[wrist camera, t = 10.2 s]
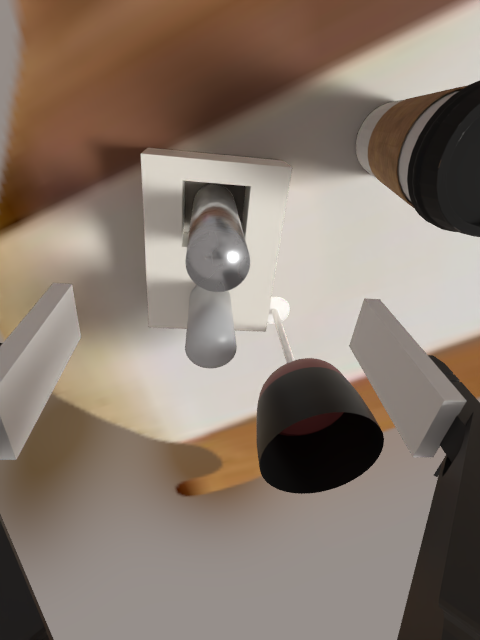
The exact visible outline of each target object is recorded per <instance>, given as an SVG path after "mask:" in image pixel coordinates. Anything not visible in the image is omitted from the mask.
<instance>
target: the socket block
mask: <svg viewBox="0 0 480 640" xmlns="http://www.w3.org/2000/svg"><path fill="white" fill-rule="evenodd" d="M141 171H142V193H143V215H144V237H145V259H146V281H147V303H148V324H149V327H153V328H181V329H187V333H186V344H185V351H186V354H187V356H188V358H189V359H190V360H191V361H192V362H193V363H194V364H196V365H198V366H200V367H204V368H217V367H221V366H223V365H225V364H227V363H228V362H229V361H231V360H232V358H233V357H234V355H235V353H236V339H235V331H263V332H266V327H267V321H268V315H269V309H270V303H271V296H272V290H273V284H274V278H275V272H276V265H277V259H278V253H279V247H280V241H281V235H282V228H283V222H284V216H285V210H286V204H287V197H288V191H289V185H290V179H291V173H292V167H291V166H289V165H288V164H287V163H286V162H284V161H283V160H272V159H262V158H251V157H241V156H230V155H220V154H209V153H199V152H189V151H178V150H168V149H157V148H147V149H146V150H144V151H143V152H142V153H141ZM185 181H195V182H207V183H219V184H230V185H242V186H245V196H244V206H243V216H242V230H243V233H244V237H245V241H246V244H247V248H248V251H249V255H250V268H249V272H248V274H247V276H246V278H245V279H244V280H243V281H242V283H240V284H239V285H238V286H237V287H235V288H233V289H231V290H228V291H224V292H212V291H208V290H205V289H203V288H201V287H199V286H198V285H196V284H195V283H194V282H193V281H192V279H191V278H190V276H189V274H188V272H187V269H186V262H185V261H186V252H187V245H188V237H189V233H185V232H184V205H185ZM234 330H235V331H234Z"/></svg>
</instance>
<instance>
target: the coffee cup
mask: <svg viewBox="0 0 480 640" xmlns="http://www.w3.org/2000/svg"><path fill="white" fill-rule="evenodd" d="M356 154H357V158H358V161H359V163H360V164H361V166H362V167H363V168H364V169H365V170H366V171H367V172H369V173H370V174H371V175H373V176H374V177H376V178H377V179H378V180H379V181H380V182H382V183H383V184H384V185H385V186H387V187H388V188H389V189H390V190H392V191H393V192H394V193H396V194H397V195H398V196H399V197H401V198H402V199H403V200H404V201H406V202H407V203H408V204H409V205H411V206H412V207H413V208H415V210H416V211H417V213H418V214H419V215H420V216H421V217H422V218H424V219H425V220H426V221H427V222H429V223H431V224H433V225H435V226H437V227H439V228H441V229H444V230H448V231H452V232H460V233H463V234H467V235H471V236H477V237H480V81H478V82H475V83H473V84H471V85H468V86H464V87H459V88H454V89H450V90H445V91H441V92H436V93H432V94H428V95H423V96H419V97H414V98H410V99H406V100H401V101H395V102H390V103H386V104H384V105H382V106H380V107H378V108H377V109H375V110H374V111H373V112H372V113H370V114H369V115H368V117H367V118H366V119H365V120H364V122H363V124H362V125H361V127H360V129H359V132H358V135H357V139H356Z"/></svg>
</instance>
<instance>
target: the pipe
mask: <svg viewBox="0 0 480 640" xmlns="http://www.w3.org/2000/svg"><path fill="white" fill-rule="evenodd" d="M185 262H186V269H187V272H188V274H189V276H190V278H191V279H192V281H193V282H194V283H195V284H196V285H198V286H199V287H201V288H203V289H205V290H208V291H212V292H224V291H228V290H231V289H233V288H235V287H237V286H238V285H239V284H240V283H242V281H243V280H244V279H245V278H246V276H247V274H248V272H249V268H250V255H249V251H248V248H247V244H246V241H245V237H244V233H243V230H242V226H241V222H240V219H239V215H238V211H237V208H236V204H235V200H234V197H233V195H232V194H231V192H230V191H229V190H228V189H227V188H226V187H224V186H222V185H219V184H208V185H205V186H203V187H202V188H201V189H199V190H198V192H197V193H196V195H195V197H194V200H193V207H192V215H191V222H190V230H189V237H188V245H187V252H186V261H185Z"/></svg>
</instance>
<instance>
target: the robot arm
mask: <svg viewBox="0 0 480 640" xmlns="http://www.w3.org/2000/svg"><path fill="white" fill-rule="evenodd" d="M80 338H81V334H80V328H79V322H78V316H77V310H76V304H75V298H74V292H73V286H72V284H64V283H53V284H52V285H51V286H50V287H49V289H48V290H47V291H46V292H45V293H44V295H43V296H42V297H41V298H40V299H39V301H38V302H37V303H36V304H35V305H34V307H33V308H32V309H31V310H30V311H29V313H28V314H27V315H26V316H25V317H24V319H23V320H22V321H21V322H20V323H19V325H18V326H17V327H16V328H15V329H14V331H13V332H12V333H11V334H10V335H9V337H8V338H7V339H6V340H5V341H4V343H0V460H16V459H17V457H18V455H19V454H20V452H21V450H22V448H23V446H24V444H25V442H26V440H27V438H28V436H29V435H30V433H31V431H32V429H33V427H34V425H35V423H36V421H37V419H38V417H39V416H40V414H41V412H42V410H43V408H44V406H45V404H46V402H47V400H48V399H49V397H50V395H51V393H52V391H53V389H54V387H55V385H56V383H57V382H58V380H59V378H60V376H61V374H62V372H63V370H64V368H65V366H66V365H67V363H68V361H69V359H70V357H71V355H72V353H73V351H74V349H75V348H76V346H77V344H78V342H79V340H80ZM349 347H350V348H351V350H352V352H353V354H354V355H355V357H356V359H357V360H358V362H359V364H360V366H361V367H362V369H363V371H364V373H365V374H366V376H367V378H368V380H369V381H370V383H371V385H372V387H373V388H374V390H375V392H376V394H377V395H378V397H379V399H380V401H381V402H382V404H383V406H384V408H385V409H386V411H387V413H388V415H389V416H390V418H391V420H392V422H393V423H394V425H395V427H396V429H397V430H398V432H399V434H400V435H401V437H402V439H403V441H404V442H405V444H406V446H407V448H408V449H409V451H410V453H411V455H412V456H413V457H434V455H435V453H436V451H437V450H438V448H439V447H440V446H441V447H442V449H443V450H444V452H445V453H446V456H445V458H444V460H443V461H442V463H441V464H440V466H439V468H438V469H437V471H436V472H435V474H434V476H436V477H437V476H438V475H439V476H438V480H437V484H436V488H435V492H434V496H433V500H432V504H431V508H430V512H429V516H428V520H427V524H426V528H425V532H424V536H423V540H422V544H421V548H420V552H419V555H418V559H417V563H416V567H415V571H414V575H413V579H412V583H411V587H410V591H409V595H408V599H407V603H406V607H405V611H404V615H403V619H402V623H401V628H400V631H399V635H398V639H397V640H480V403H479V401H478V400H477V399H476V398H475V397H474V396H473V395H472V394H471V392H470V391H469V390H468V389H467V388H466V387H465V386H464V385H463V384H462V382H459V379H458V378H457V377H456V376H455V375H453V372H452V371H451V370H450V369H449V368H448V367H447V366H446V365H445V364H444V363H443V362H442V361H440V360H439V359H437V358H436V357H434V356H430V355H427V354H426V353H425V352H424V350H423V349H422V348H421V347H420V346H419V345H418V343H417V342H416V341H415V340H414V339H413V338H412V336H411V335H410V334H409V333H408V332H407V331H406V329H405V328H404V327H403V326H402V325H401V324H400V323H399V321H398V320H397V319H396V318H395V317H394V316H393V314H392V313H391V312H390V311H389V310H388V309H387V307H386V306H385V305H384V304H383V303H382V302H381V300H380V299H364V301H363V304H362V307H361V311H360V314H359V317H358V320H357V323H356V326H355V329H354V332H353V336H352V339H351V342H350V345H349ZM0 640H53V637H52V635H51V632H50V630H49V628H48V625H47V623H46V621H45V618H44V616H43V614H42V611H41V609H40V606H39V604H38V602H37V600H36V597H35V595H34V592H33V590H32V588H31V585H30V583H29V581H28V578H27V576H26V574H25V571H24V569H23V567H22V564H21V562H20V559H19V557H18V555H17V552H16V550H15V548H14V545H13V543H12V541H11V538H10V536H9V533H8V531H7V529H6V527H5V524H4V522H3V519H2V517H1V515H0Z"/></svg>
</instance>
